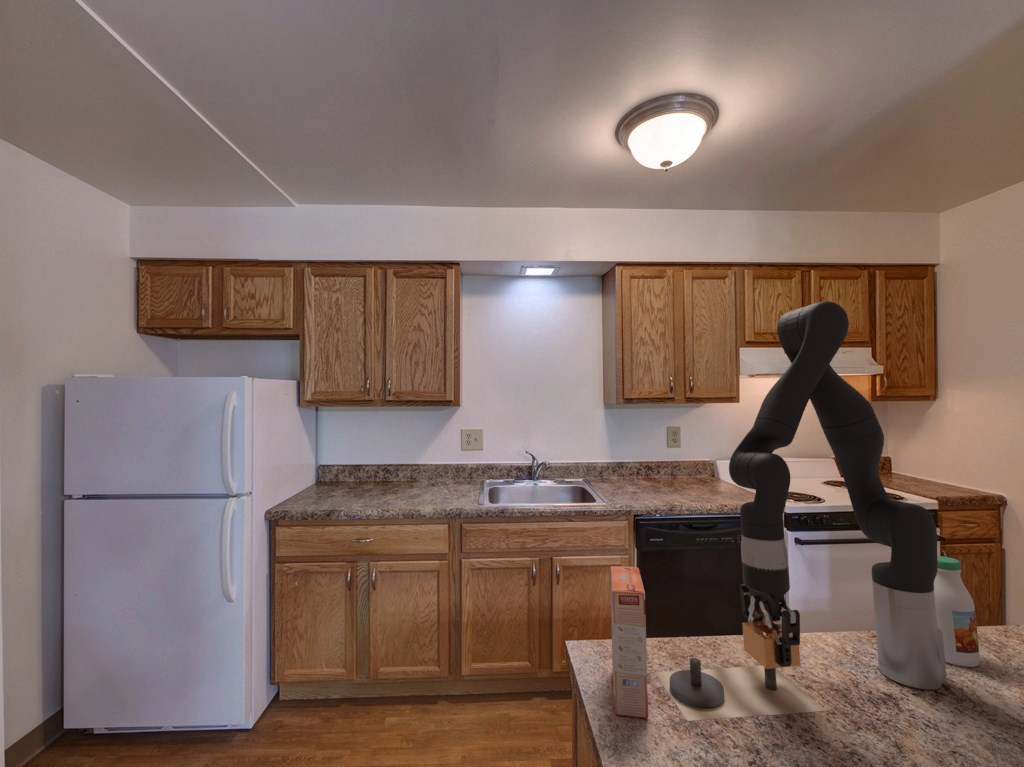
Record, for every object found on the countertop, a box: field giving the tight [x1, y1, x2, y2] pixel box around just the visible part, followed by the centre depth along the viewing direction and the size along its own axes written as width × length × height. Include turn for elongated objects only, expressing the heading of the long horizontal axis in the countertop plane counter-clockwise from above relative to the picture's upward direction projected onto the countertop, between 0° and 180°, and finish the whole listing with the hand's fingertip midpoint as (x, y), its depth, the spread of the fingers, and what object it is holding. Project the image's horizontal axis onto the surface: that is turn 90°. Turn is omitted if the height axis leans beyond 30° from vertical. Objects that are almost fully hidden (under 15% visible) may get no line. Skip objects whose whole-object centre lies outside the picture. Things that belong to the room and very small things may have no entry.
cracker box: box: [610, 565, 649, 719], centre depth 84 cm, size 14×6×21 cm, turn 168°
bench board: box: [653, 657, 828, 722], centre depth 82 cm, size 24×14×7 cm, turn 95°
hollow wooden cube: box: [741, 620, 802, 669], centre depth 83 cm, size 6×6×5 cm
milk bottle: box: [934, 555, 981, 668], centre depth 94 cm, size 8×8×20 cm
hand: (771, 654), depth 82 cm, fingers closed on hollow wooden cube, 6 cm apart
